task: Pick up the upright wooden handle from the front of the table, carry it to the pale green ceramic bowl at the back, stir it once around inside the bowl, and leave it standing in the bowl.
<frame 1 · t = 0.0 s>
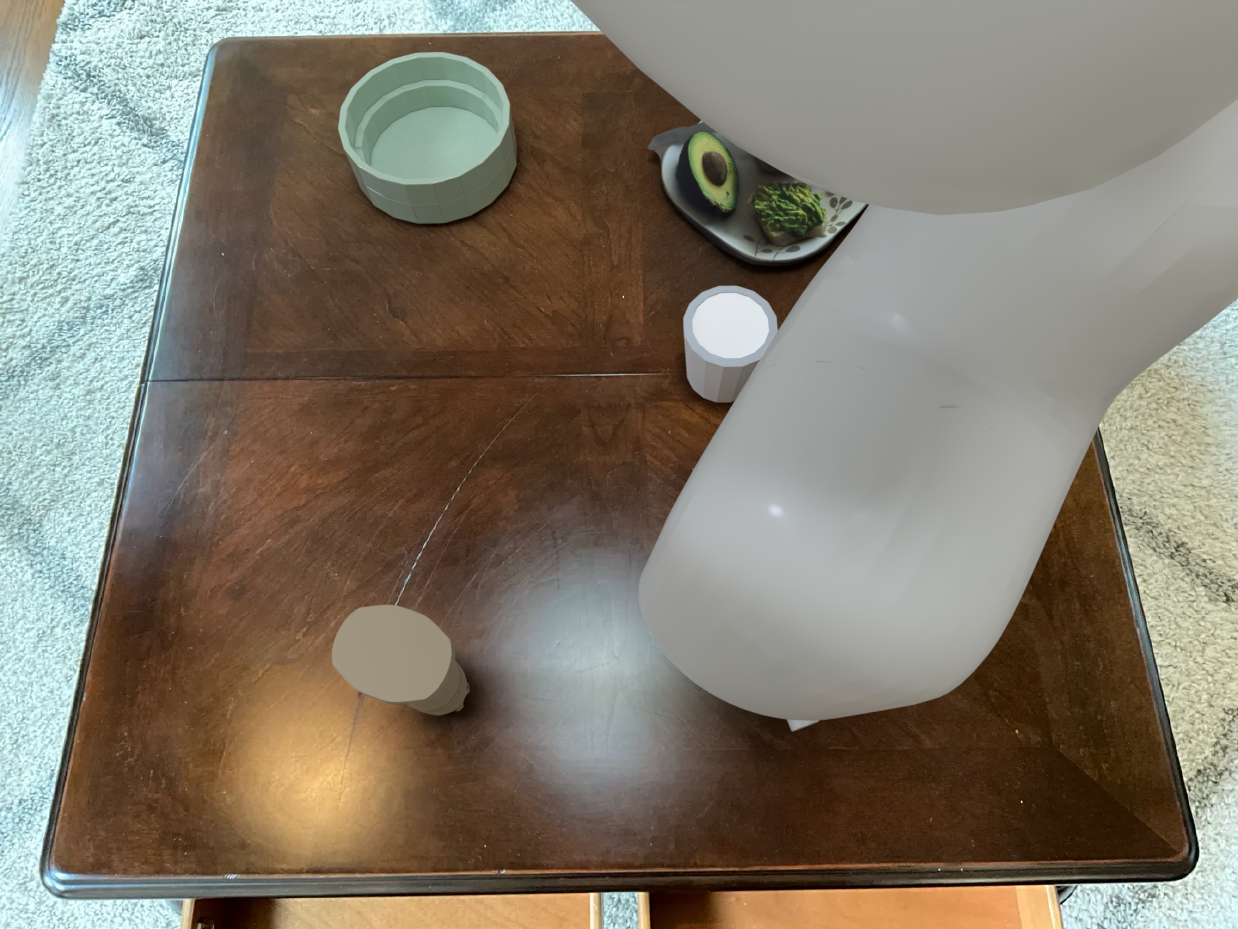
avocado toast plate: (760, 185, 77), on the table
white short cylinder: (721, 372, 70), on the table
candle: (832, 435, 68), on the table
handle: (447, 693, 61), on the table
bowl: (437, 161, 78), on the table
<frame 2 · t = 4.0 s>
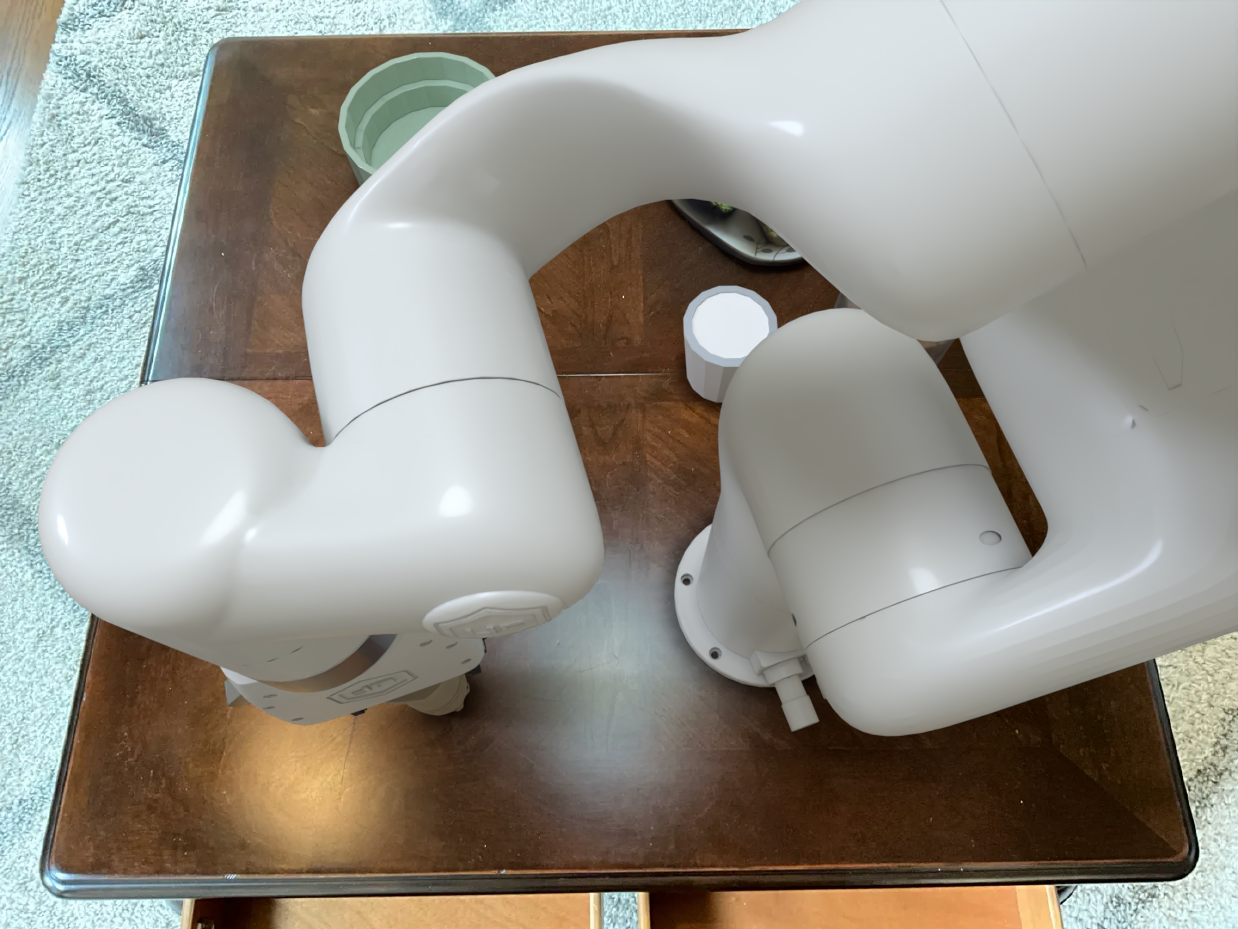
hand: (413, 668, 51), 10 cm above the table, tool pointing down, fingers closed on handle, 6 cm apart
handle: (447, 693, 61), on the table, touching gripper
everything else where it was.
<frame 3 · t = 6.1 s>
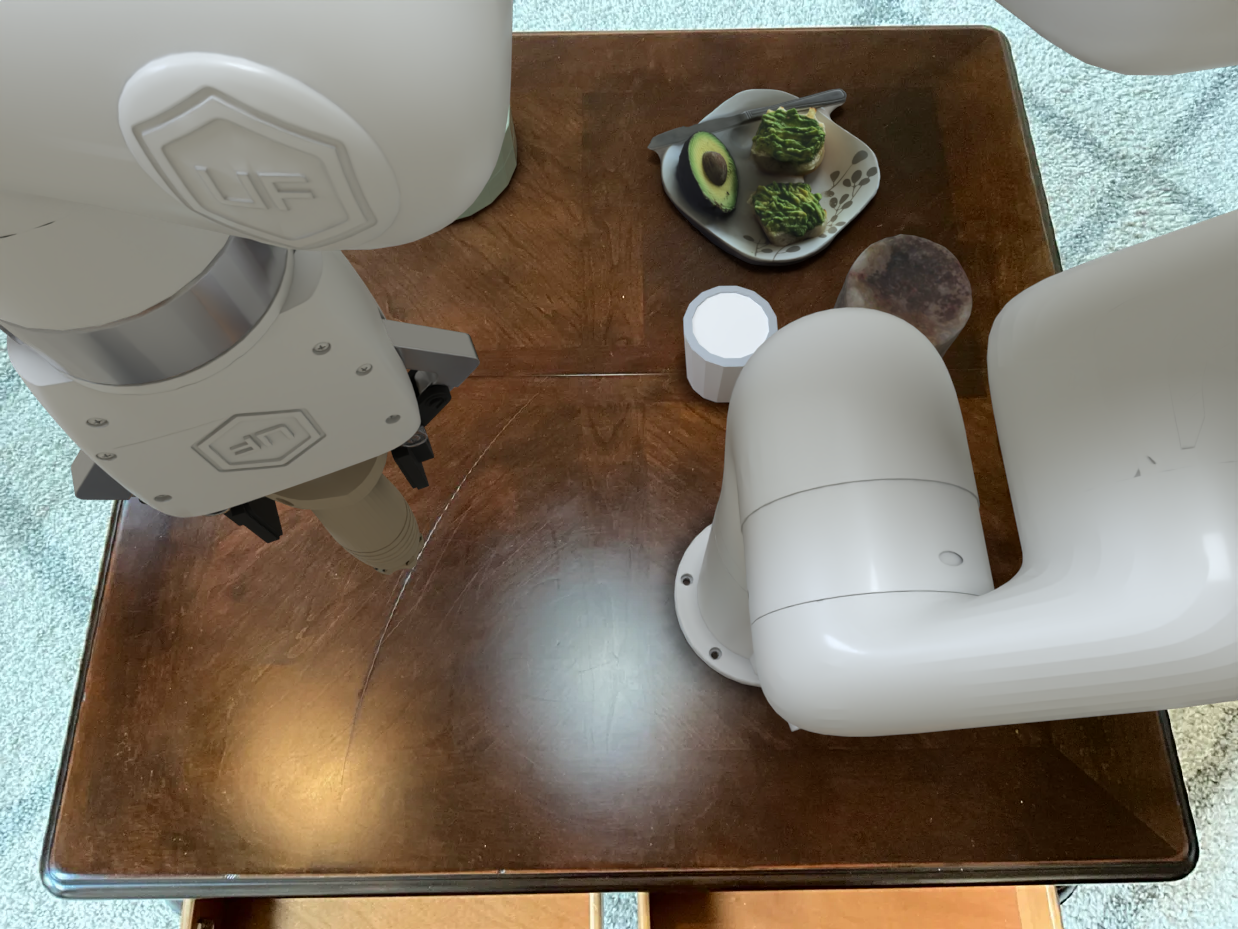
hand: (341, 484, 40), 24 cm above the table, tool pointing down, fingers closed on handle, 6 cm apart
handle: (397, 550, 50), point 14 cm above the table, touching gripper
everything else where it was.
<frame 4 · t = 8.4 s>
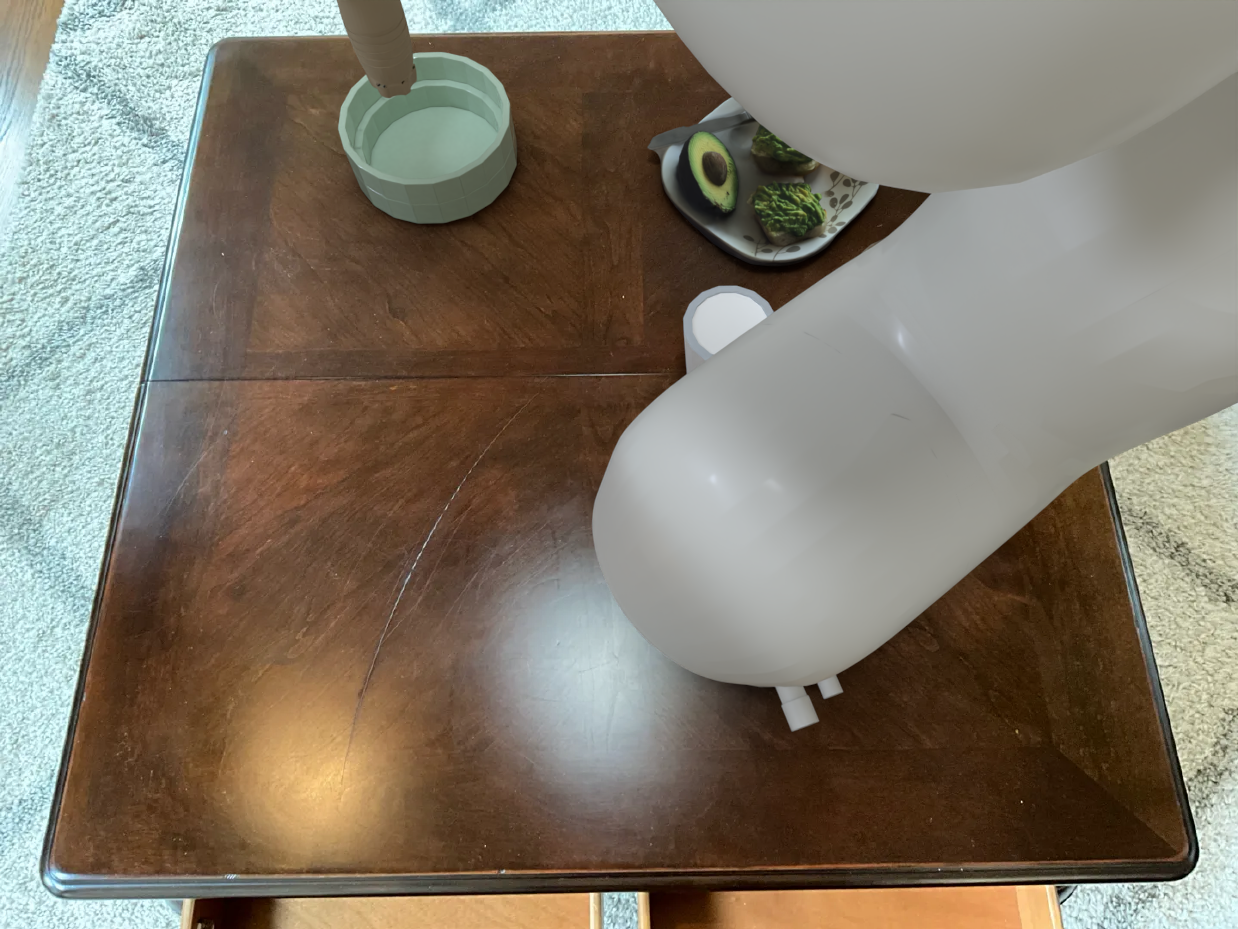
handle: (395, 85, 62), point 15 cm above the table, touching gripper
everything else where it was.
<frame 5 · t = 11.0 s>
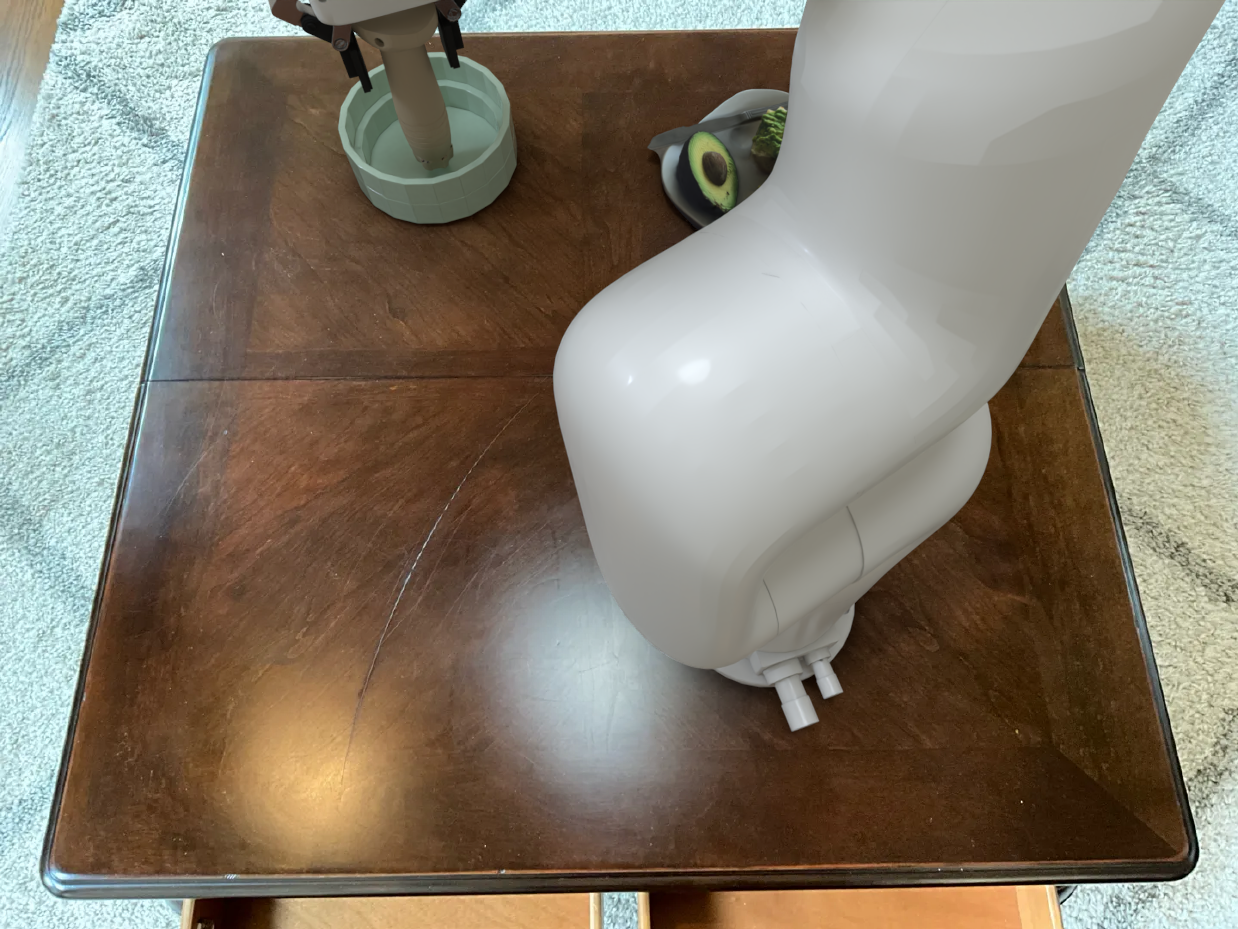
hand: (407, 65, 67), 12 cm above the table, tool pointing down, fingers closed on handle, 6 cm apart
handle: (436, 159, 77), point 1 cm above the table, touching gripper
everything else where it was.
when the fingers open (10 cm above the table, at t = 12.9 s): handle stays where it is, resting on bowl.
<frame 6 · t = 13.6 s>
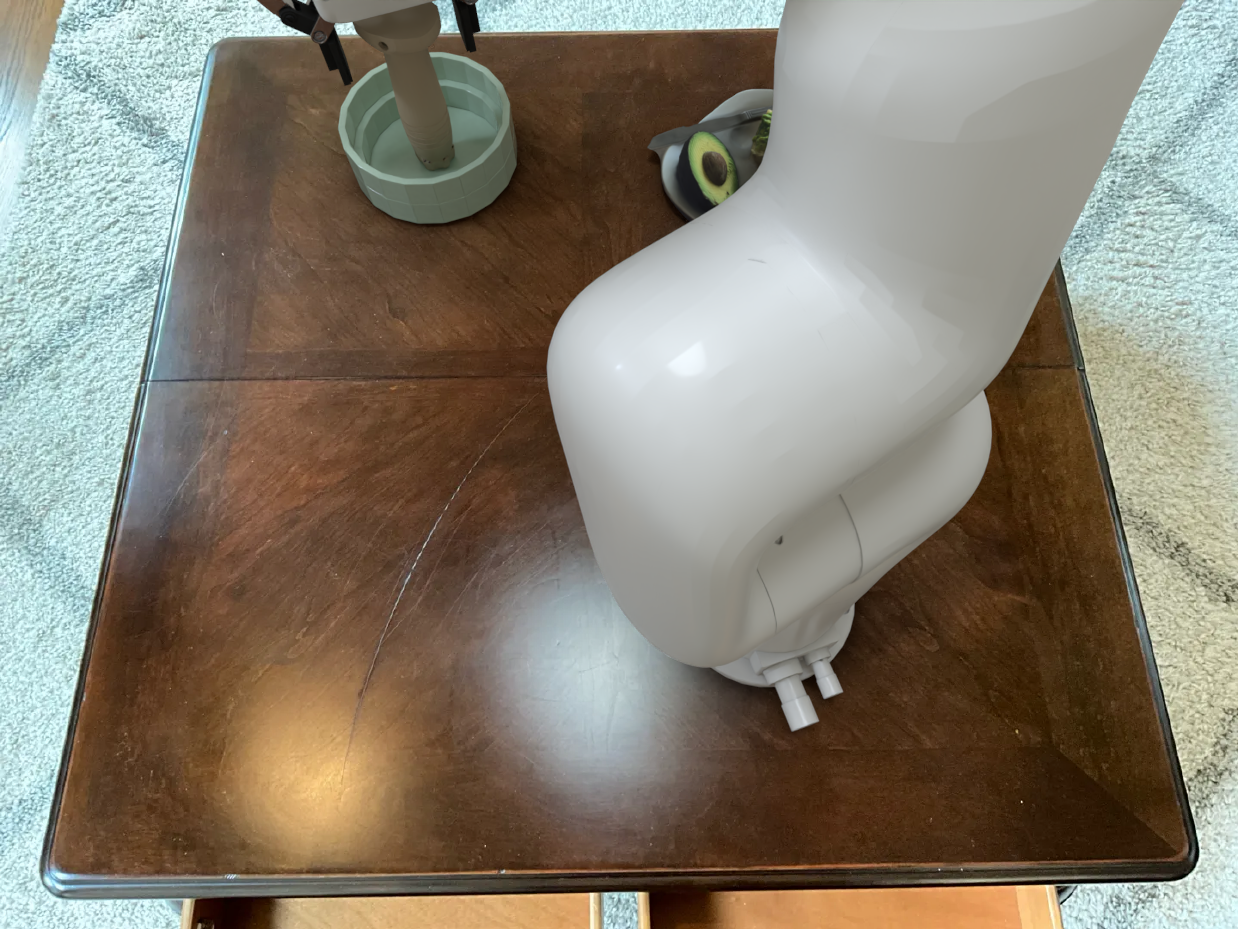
hand: (406, 55, 67), 12 cm above the table, tool pointing down, fingers open, 9 cm apart
handle: (437, 159, 78), resting on bowl
everything else where it was.
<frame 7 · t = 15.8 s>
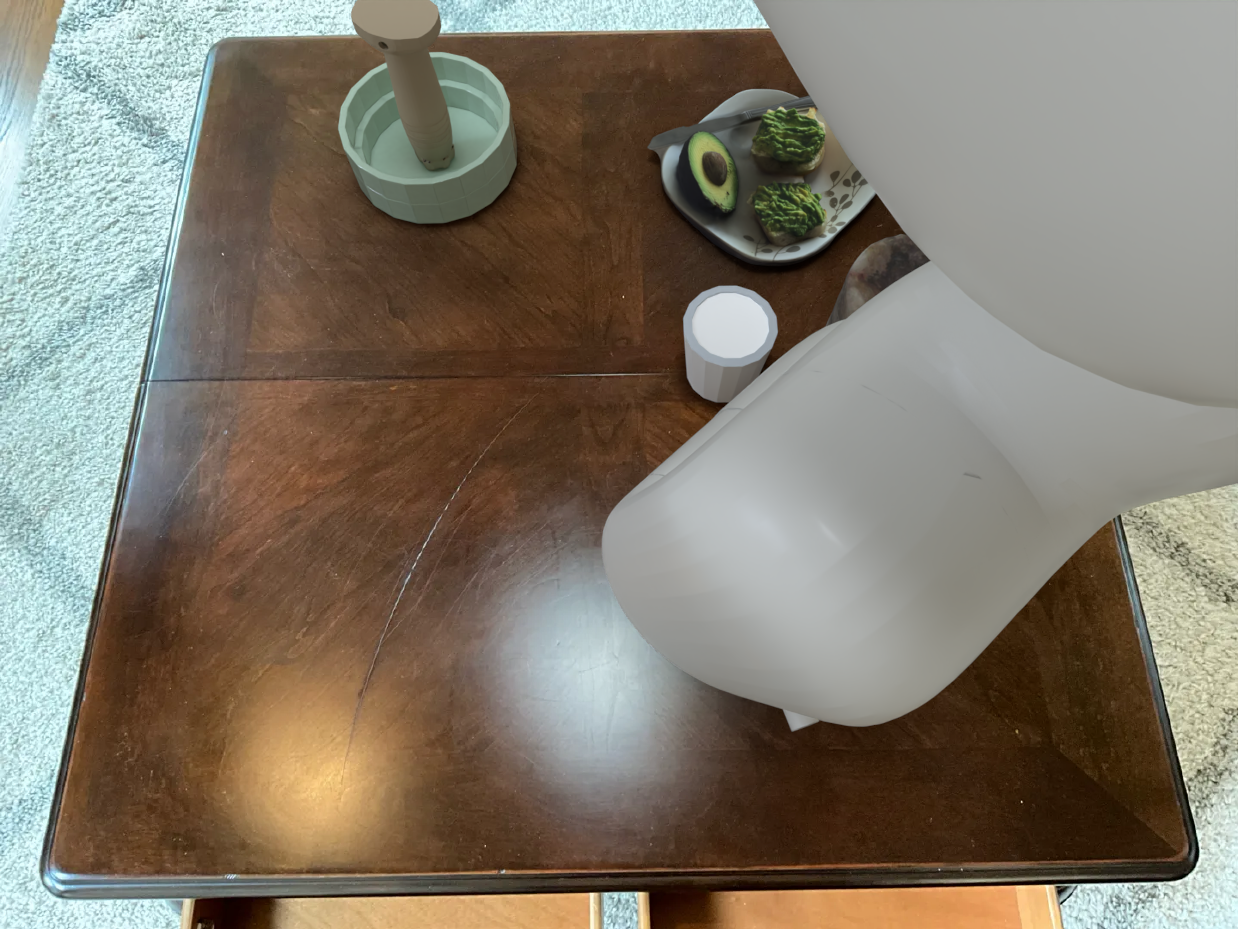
nothing on the table moved.
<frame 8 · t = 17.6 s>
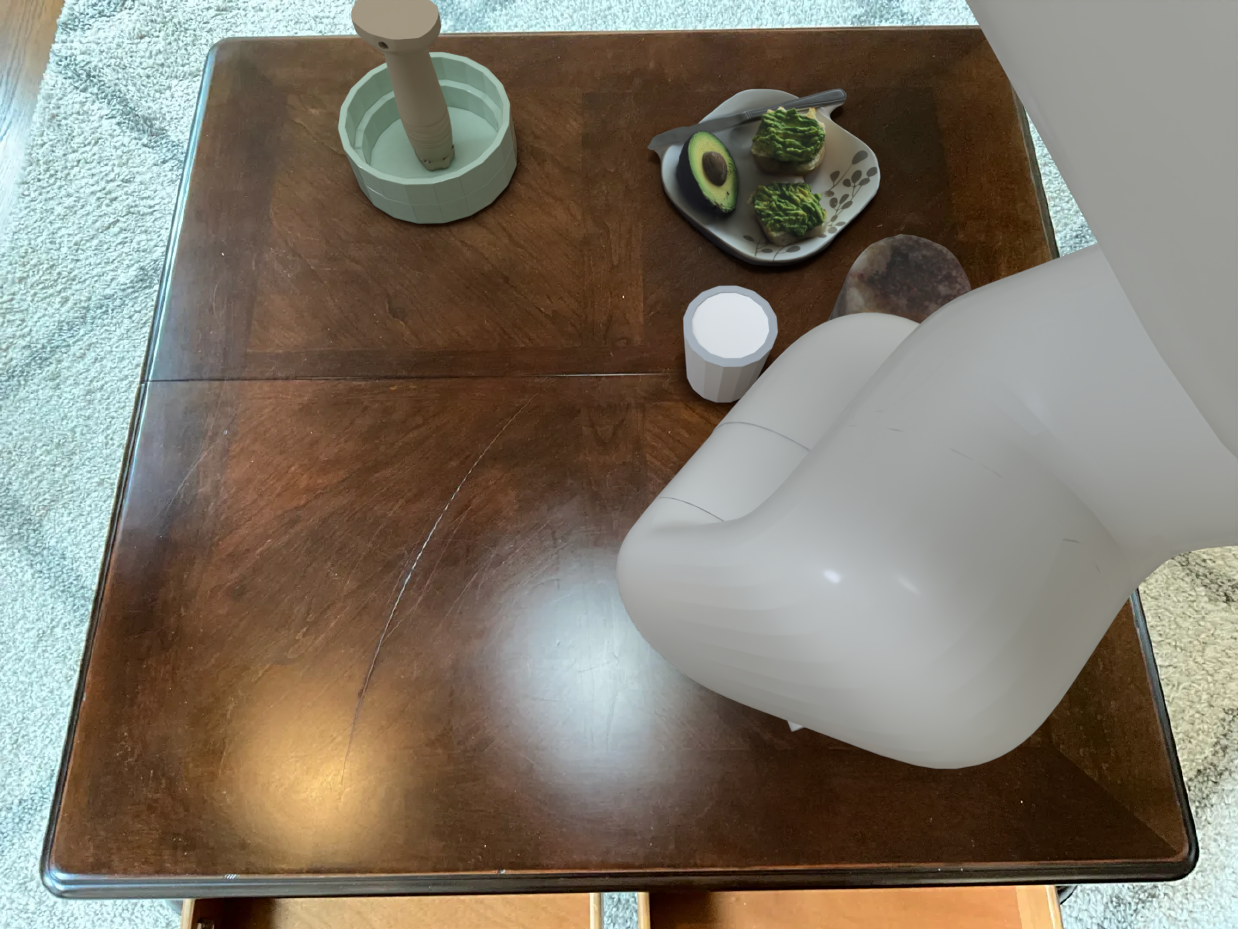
nothing on the table moved.
at the end: handle inside the target area in the bowl (0.1 cm from its centre), point 0.3 cm above the bowl's base; handle tilted 0°; the gripper is holding nothing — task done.
